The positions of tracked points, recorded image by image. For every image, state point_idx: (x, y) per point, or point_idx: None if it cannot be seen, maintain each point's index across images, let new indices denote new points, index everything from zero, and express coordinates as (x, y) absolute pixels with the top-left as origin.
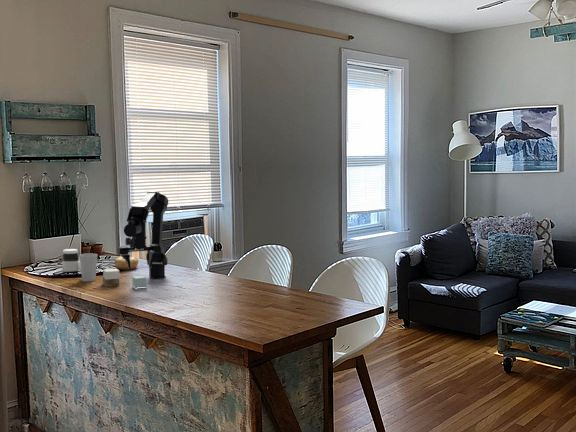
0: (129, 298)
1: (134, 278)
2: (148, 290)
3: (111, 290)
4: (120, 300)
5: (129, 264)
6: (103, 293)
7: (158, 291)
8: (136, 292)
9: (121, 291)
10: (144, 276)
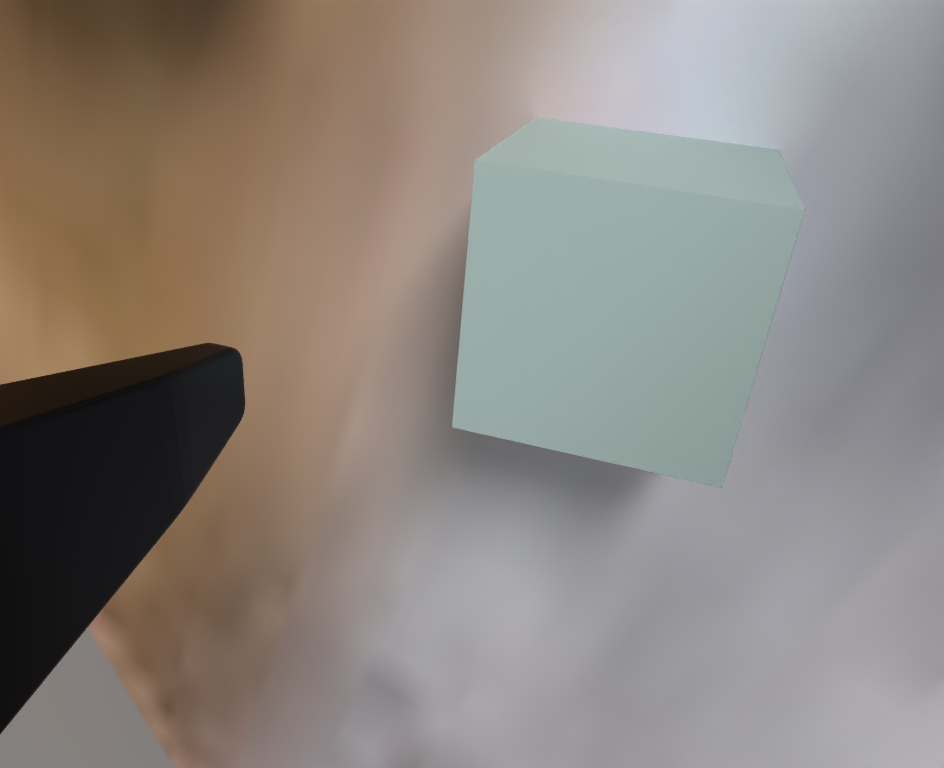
0: (283, 665)
1: (462, 344)
2: (666, 504)
3: (143, 162)
4: (183, 666)
5: (111, 566)
6: (28, 280)
7: (765, 639)
8: (450, 497)
9: (271, 317)
10: (757, 341)
